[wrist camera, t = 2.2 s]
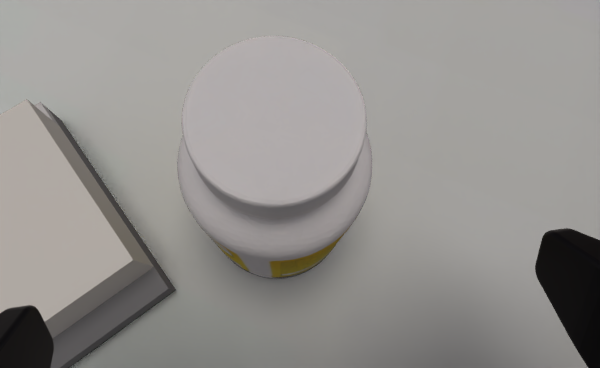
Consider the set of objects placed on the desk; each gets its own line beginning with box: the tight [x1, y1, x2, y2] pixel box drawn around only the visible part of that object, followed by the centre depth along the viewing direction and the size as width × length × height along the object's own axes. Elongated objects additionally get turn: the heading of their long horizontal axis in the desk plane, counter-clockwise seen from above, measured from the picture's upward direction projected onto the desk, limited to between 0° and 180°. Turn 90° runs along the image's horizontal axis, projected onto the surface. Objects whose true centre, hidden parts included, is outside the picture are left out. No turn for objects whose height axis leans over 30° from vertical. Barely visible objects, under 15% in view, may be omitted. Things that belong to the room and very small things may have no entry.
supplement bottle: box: [177, 36, 372, 278], centre depth 14 cm, size 5×5×10 cm
